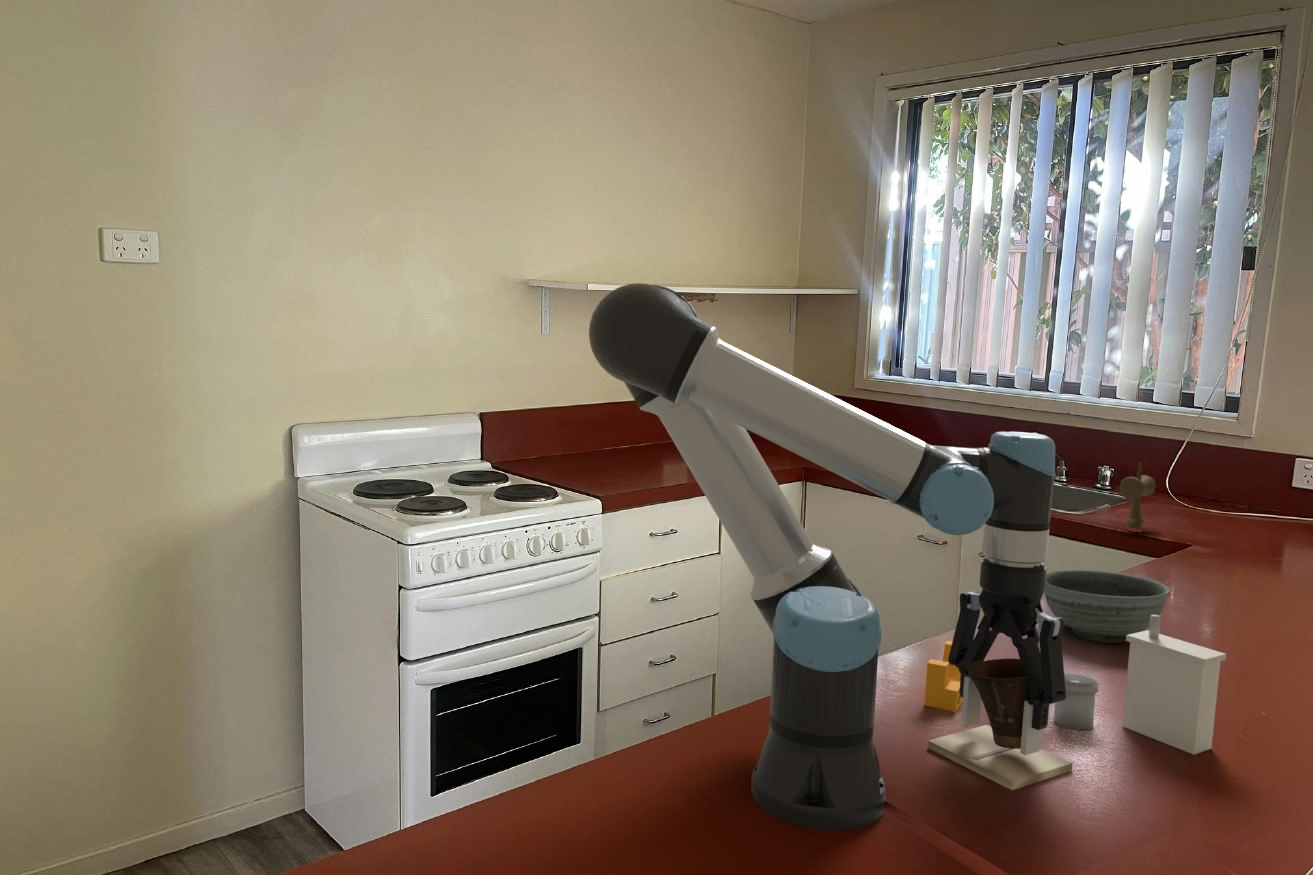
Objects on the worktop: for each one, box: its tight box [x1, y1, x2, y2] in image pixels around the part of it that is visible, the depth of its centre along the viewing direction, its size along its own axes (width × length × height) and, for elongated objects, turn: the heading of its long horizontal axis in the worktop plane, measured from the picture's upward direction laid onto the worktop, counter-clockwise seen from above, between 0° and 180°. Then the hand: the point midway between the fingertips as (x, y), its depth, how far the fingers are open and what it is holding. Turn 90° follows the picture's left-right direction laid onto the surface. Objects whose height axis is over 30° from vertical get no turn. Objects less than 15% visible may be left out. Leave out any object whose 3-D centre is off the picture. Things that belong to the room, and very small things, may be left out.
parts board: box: [927, 724, 1073, 791], centre depth 126 cm, size 11×13×1 cm
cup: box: [968, 657, 1031, 749], centre depth 125 cm, size 9×9×10 cm
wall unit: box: [1122, 615, 1227, 756], centre depth 134 cm, size 5×11×16 cm, turn 32°
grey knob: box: [1053, 672, 1100, 731], centre depth 138 cm, size 6×6×6 cm
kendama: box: [1119, 462, 1157, 529], centre depth 262 cm, size 6×10×20 cm, turn 134°
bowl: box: [1043, 569, 1171, 643], centre depth 178 cm, size 21×21×10 cm
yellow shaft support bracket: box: [924, 639, 963, 713], centre depth 147 cm, size 12×4×6 cm, turn 151°
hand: (999, 737), depth 126 cm, fingers open, 8 cm apart
